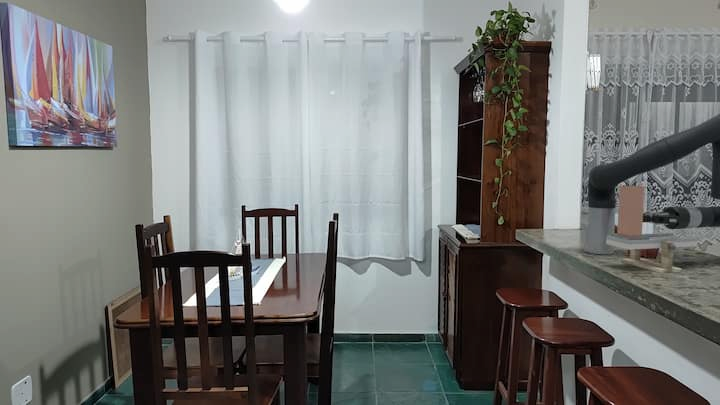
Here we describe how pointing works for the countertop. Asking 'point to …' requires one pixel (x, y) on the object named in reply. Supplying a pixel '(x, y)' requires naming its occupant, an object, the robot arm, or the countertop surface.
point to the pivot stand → (652, 265)
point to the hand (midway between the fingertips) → (637, 218)
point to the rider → (630, 213)
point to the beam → (651, 241)
